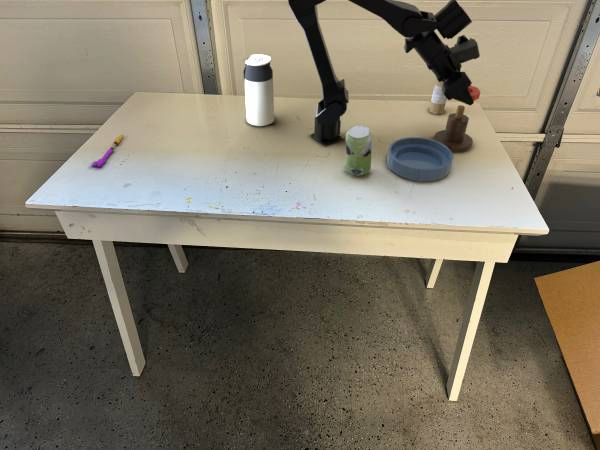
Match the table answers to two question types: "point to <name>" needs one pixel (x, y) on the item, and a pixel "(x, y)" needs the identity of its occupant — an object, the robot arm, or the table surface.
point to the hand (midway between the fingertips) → (469, 98)
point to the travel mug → (259, 90)
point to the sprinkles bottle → (438, 99)
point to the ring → (474, 92)
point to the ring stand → (455, 132)
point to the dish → (419, 158)
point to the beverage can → (358, 150)
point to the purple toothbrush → (107, 153)
